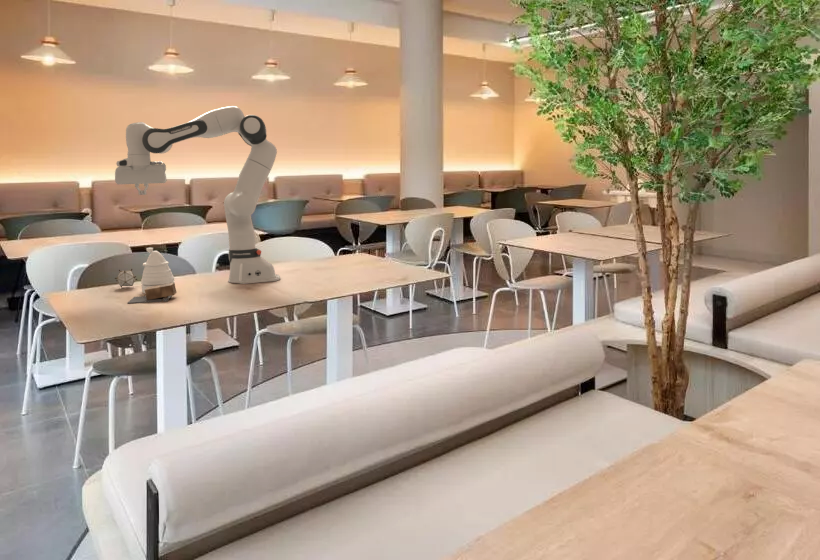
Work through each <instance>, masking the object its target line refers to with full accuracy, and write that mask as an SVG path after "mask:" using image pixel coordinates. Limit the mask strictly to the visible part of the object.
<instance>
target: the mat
mask: <svg viewBox="0 0 820 560" xmlns="http://www.w3.org/2000/svg"><path fill="white" fill-rule="evenodd" d="M163 299H164V297H161V298H156V299H150V300H147V298H146V295H141V296H133V297H132V298H131V299H130V300H128V301H127V305H128V304H145V303H156V302H158V303H159V302H163V301H164V300H163Z"/></svg>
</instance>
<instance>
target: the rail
mask: <svg viewBox="0 0 820 560" xmlns="http://www.w3.org/2000/svg"><path fill="white" fill-rule="evenodd" d="M171 298H172V296H167V297H164V299H163V300H162V301H163V302H164V303H165V302H167V303H168V301H169V300H170V299H171Z"/></svg>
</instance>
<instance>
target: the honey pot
mask: <svg viewBox="0 0 820 560" xmlns="http://www.w3.org/2000/svg"><path fill="white" fill-rule="evenodd" d="M146 252H147V253H149V255H148V257H147V260H146V262H143V263H142V267H144V268H143V271H142V275H141V276H142V278H141V279H140V282H141V293H142V292H143V293H142V294H144V293H145V289H146V288H147V287H151V286H157V285H163V284H168V283H175V275H173V272H172V270H171V268H170V266H169V264H170V262H169V261H167V260H166V258H165V257H164V256H163V254H162V253H160V251H158V250H154V247H146ZM175 284H176V283H175Z"/></svg>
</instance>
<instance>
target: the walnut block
mask: <svg viewBox="0 0 820 560" xmlns="http://www.w3.org/2000/svg"><path fill="white" fill-rule="evenodd" d="M176 294H177V289H176V283H168V284H163V285H157V286H151V287H147V288H146V289H145V296H146V298H147V300H150V299H156V298H161V297H167V296H171V297H172V296H175V295H176Z"/></svg>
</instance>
